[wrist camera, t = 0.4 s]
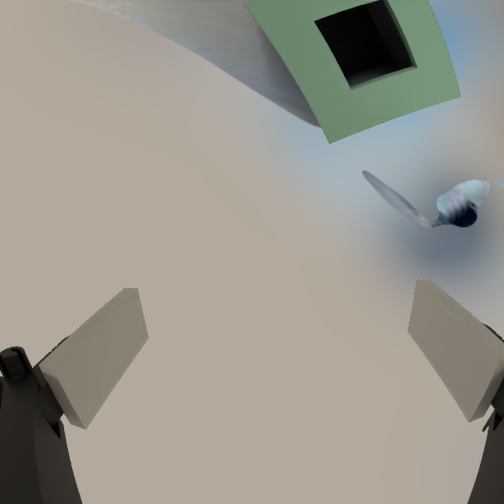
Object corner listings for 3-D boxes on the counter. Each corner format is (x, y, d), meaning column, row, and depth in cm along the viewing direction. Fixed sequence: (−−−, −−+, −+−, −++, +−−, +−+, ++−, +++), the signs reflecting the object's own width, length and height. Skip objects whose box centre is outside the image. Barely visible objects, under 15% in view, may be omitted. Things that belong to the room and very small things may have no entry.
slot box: (255, 13, 27) (243, 3, 16) (354, -25, 20) (401, -47, 9) (310, 99, 35) (329, 143, 24) (400, 65, 29) (460, 96, 18)
